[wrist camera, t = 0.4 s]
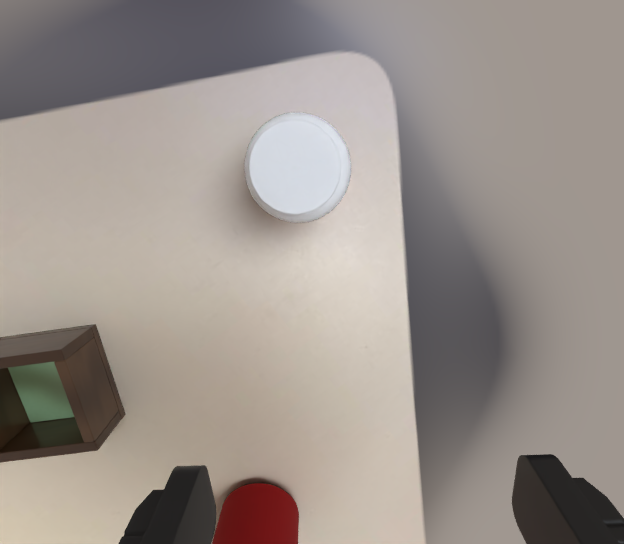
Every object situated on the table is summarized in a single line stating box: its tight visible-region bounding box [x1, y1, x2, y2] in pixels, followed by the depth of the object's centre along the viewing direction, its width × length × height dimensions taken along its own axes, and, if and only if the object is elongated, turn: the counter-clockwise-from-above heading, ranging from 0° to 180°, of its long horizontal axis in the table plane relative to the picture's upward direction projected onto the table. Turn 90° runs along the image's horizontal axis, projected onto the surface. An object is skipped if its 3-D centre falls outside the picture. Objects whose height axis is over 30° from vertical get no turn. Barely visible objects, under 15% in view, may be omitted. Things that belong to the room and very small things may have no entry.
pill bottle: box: [244, 112, 351, 223], centre depth 21 cm, size 6×5×10 cm
